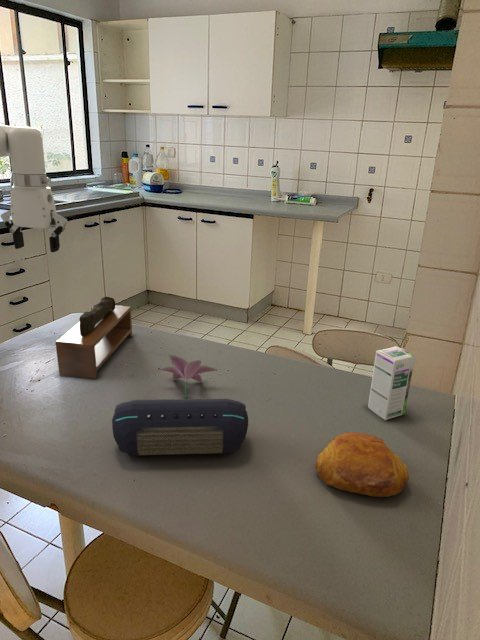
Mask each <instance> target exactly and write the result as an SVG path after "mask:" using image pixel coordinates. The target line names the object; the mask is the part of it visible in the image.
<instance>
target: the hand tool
mask: <svg viewBox="0 0 480 640" xmlns="http://www.w3.org/2000/svg"><path fill="white" fill-rule="evenodd" d="M115 305H117V304H116V300H115V299H114V298H113V297H111V296H104V297H101V299H100V301H99V302H98V303H96V304H94V305H93V308H92V309H90V310H89V311H85V312H83V313H82V314H81V315H80V316H79V321H80V335H81V336H82V335H85V334H87V333H89V332H90V331H92V330H94V328H95V325H96V324H97V323H98V322H99V321H100V320H101V319H102V318H103V317H104V316H105V315H106V314H107V313H108V312H109V311H110V310H111V311H113V310H114V309H115V308H116V307H115Z"/></svg>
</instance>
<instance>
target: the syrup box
mask: <svg viewBox="0 0 480 640" xmlns="http://www.w3.org/2000/svg"><path fill="white" fill-rule="evenodd" d="M415 358H416V356H415V354H413V353H412V352H410V351H408V350H406V349H404V348H402V347H399V346H397V345H395V346H392V347H388V348H383V349H377V350H375V357H374V363H373V371H372V376H371V383H370V390H369V398H368V404H367V408H368V409H369V410H370V411H372V412H373V413H374V414H376V415H377V416H378V417H379V418H381V419H383V420H384V421H388V420H390V419H393V418H397V417H400V416H404V415H405V414H406V409H407V402H408V398H409V392H410V387H411V382H412V376H413V370H414V365H415V362H416V361H415V360H416V359H415Z"/></svg>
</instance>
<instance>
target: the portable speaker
mask: <svg viewBox="0 0 480 640" xmlns="http://www.w3.org/2000/svg"><path fill="white" fill-rule="evenodd" d="M248 428H249V415H248V411H247V405H246V404H245V403H244V402H241V401H239V400H235V399H230V398H177V399H176V398H171V399H170V398H169V399H168V398H167V399H166V398H165V399H164V398H163V399H160V398H159V399H132V400H129V401H125V402H124V401H123V402H120V403H119V404H116V405H115V407H114V413H113V416H112V419H111V429H112V436H113V439H114V441H115V443H116V445H117V447H118V449H119V451H120V452H121V453H123V454H126V455H127V456H157V455H158V456H161V455H162V456H163V455H200V454H201V455H203V454H204V455H205V454H232V453H234V452H236V451H238V450H240V449H241V447H242V444H243V443H244V441H245V439H246V437H247V433H248Z"/></svg>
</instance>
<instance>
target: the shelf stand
mask: <svg viewBox="0 0 480 640" xmlns="http://www.w3.org/2000/svg"><path fill="white" fill-rule="evenodd" d="M115 307H116V308H115V309H114V310H113V311H111V310H110V311H109V312H108V313H107V314H106V315H105V316H104V317H103V318H102V319H101V320H100V321H99V322H98V323H97V324H96V325H95V328H94V330H92V331H90V332H89V333H87V334H85V335H82V336H81V335H80V320H78V322H77V323H76V324H74V325H73V326H72V327H71V328H70V329H69V330H68V331H66V332H65V333H64V334H63V335H61V336H60V337H59V338H58V339H57V340H55V341H54V342H55V349H56V359H57V366H58V375H59V376H60V377H61V376H62V377H70V378H72V377H73V378H80V379H81V378H82V379H90V380H91V379H92V380H96V379H97V377H98V370H99V369H100V368H101V367H102V366H103V365H104V364H105V363H106V361H107V360H108V359H109V358H110V356H111V355H112V354H113V353H114V352H115V351H116V350H117V348H119V347H120V345H122V343H123V342H124V341H125V339H126V338H131V337H132V336H133V324H132V323H133V322H132V306H129V305H117V304H116V305H115Z"/></svg>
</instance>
